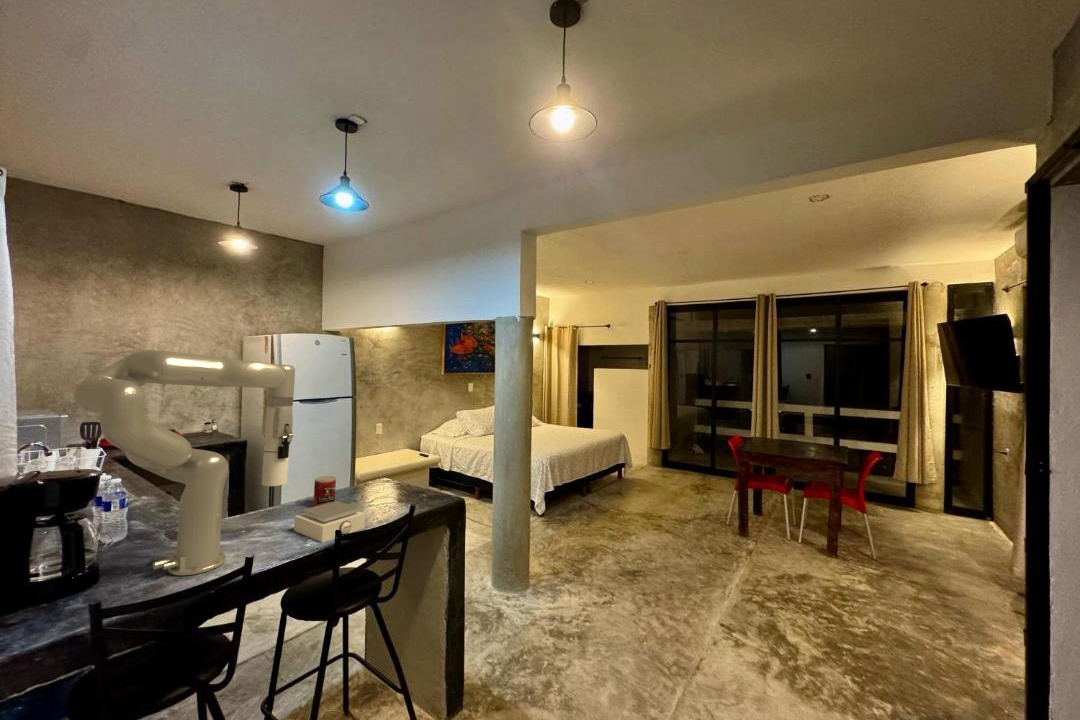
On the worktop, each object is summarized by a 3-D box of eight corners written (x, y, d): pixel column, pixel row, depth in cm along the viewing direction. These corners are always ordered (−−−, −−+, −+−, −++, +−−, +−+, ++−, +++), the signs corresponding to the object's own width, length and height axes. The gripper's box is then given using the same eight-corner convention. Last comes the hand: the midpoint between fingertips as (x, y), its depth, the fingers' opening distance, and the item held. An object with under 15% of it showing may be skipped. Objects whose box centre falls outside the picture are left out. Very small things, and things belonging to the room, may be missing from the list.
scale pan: (324, 521, 141) (324, 518, 141) (301, 513, 148) (302, 509, 148) (359, 511, 152) (359, 508, 152) (336, 504, 159) (336, 500, 159)
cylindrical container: (291, 483, 142) (296, 407, 143) (269, 487, 136) (274, 408, 137) (279, 479, 146) (284, 405, 147) (257, 483, 140) (262, 406, 140)
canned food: (315, 510, 168) (317, 481, 168) (311, 504, 174) (312, 477, 174) (336, 506, 173) (338, 479, 173) (331, 501, 179) (333, 474, 179)
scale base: (323, 543, 138) (324, 527, 138) (294, 530, 147) (294, 516, 147) (366, 528, 152) (367, 514, 152) (337, 517, 161) (337, 504, 161)
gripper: (253, 400, 143) (250, 454, 143) (282, 404, 134) (278, 462, 134) (277, 399, 149) (273, 451, 149) (306, 404, 141) (302, 458, 140)
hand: (276, 456), depth 141 cm, fingers closed on cylindrical container, 7 cm apart
